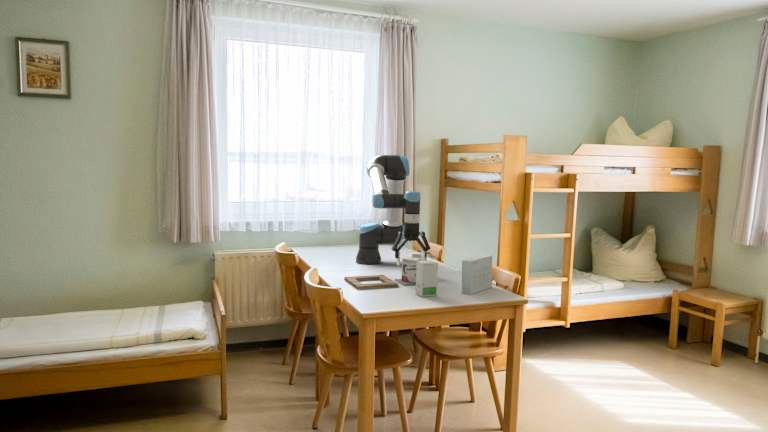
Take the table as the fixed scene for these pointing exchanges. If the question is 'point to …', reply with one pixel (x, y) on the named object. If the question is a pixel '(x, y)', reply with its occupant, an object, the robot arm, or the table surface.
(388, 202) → the robot arm
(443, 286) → the table surface
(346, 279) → the board
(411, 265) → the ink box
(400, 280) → the mat
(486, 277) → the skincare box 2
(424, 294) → the skincare box
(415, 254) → the supplement box
